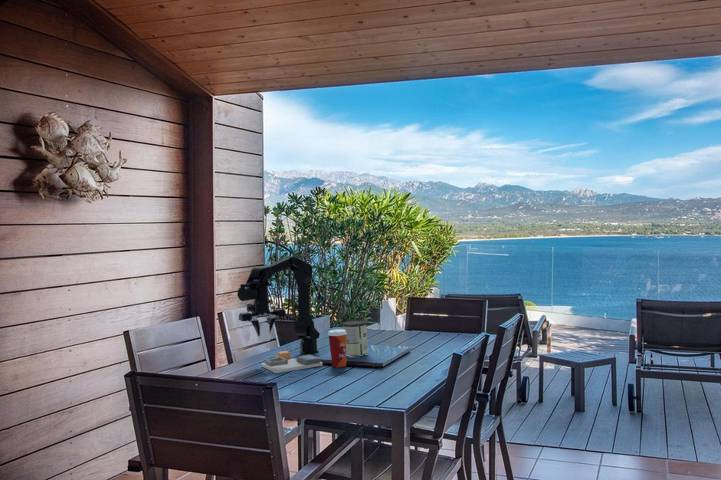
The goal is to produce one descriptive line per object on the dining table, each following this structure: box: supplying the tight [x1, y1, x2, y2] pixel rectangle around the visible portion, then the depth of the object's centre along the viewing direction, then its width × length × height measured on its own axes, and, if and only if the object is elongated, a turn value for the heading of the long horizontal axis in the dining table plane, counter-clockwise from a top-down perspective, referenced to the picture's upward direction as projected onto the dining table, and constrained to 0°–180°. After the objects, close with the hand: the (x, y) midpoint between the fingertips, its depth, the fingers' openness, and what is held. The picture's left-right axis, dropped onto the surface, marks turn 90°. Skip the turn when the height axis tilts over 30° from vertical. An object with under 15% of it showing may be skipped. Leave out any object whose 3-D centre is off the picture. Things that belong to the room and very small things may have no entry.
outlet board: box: [261, 357, 324, 374], centre depth 273 cm, size 20×16×3 cm
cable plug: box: [274, 350, 291, 360], centre depth 287 cm, size 4×12×4 cm, turn 28°
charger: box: [256, 322, 271, 343], centre depth 279 cm, size 4×4×7 cm
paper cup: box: [327, 328, 347, 368], centre depth 269 cm, size 8×8×14 cm
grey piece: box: [296, 354, 321, 365], centre depth 273 cm, size 6×10×2 cm, turn 28°
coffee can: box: [341, 319, 369, 356], centre depth 288 cm, size 10×10×14 cm
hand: (263, 335), depth 279 cm, fingers closed on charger, 4 cm apart
